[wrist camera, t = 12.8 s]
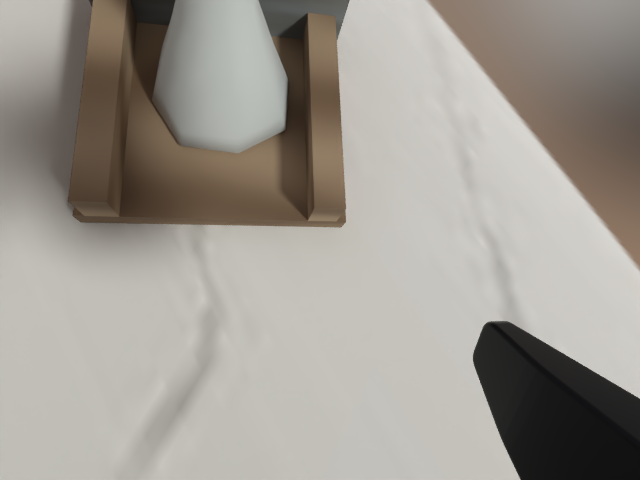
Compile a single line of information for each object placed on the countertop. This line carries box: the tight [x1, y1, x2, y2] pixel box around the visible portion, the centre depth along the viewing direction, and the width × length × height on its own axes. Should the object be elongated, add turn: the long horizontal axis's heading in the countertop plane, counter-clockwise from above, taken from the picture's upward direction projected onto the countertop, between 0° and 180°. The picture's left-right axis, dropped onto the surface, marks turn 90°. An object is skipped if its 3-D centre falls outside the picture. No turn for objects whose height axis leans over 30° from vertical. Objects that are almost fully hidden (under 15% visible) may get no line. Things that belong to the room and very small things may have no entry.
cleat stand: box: [68, 0, 349, 227], centre depth 20 cm, size 13×13×6 cm
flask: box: [152, 0, 289, 153], centre depth 18 cm, size 7×7×10 cm
